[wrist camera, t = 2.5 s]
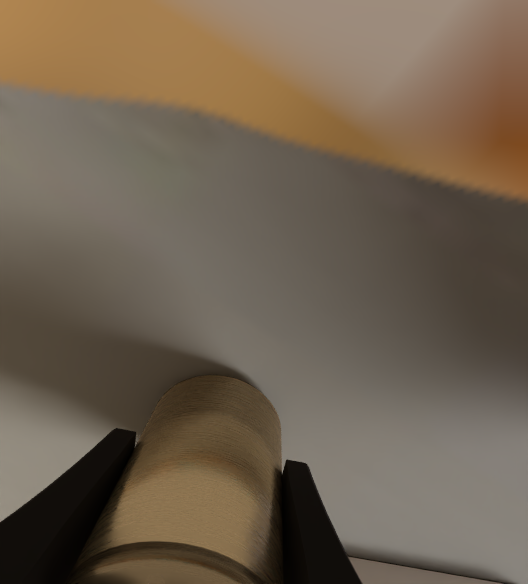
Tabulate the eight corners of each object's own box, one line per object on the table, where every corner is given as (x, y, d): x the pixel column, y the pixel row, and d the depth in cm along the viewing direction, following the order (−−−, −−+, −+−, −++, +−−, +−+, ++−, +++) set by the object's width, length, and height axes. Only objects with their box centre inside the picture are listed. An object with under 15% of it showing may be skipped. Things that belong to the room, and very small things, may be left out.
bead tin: (294, 389, 12) (309, 595, 6) (266, 490, 13) (259, 733, 7) (158, 363, 12) (44, 550, 6) (146, 469, 13) (46, 700, 7)
